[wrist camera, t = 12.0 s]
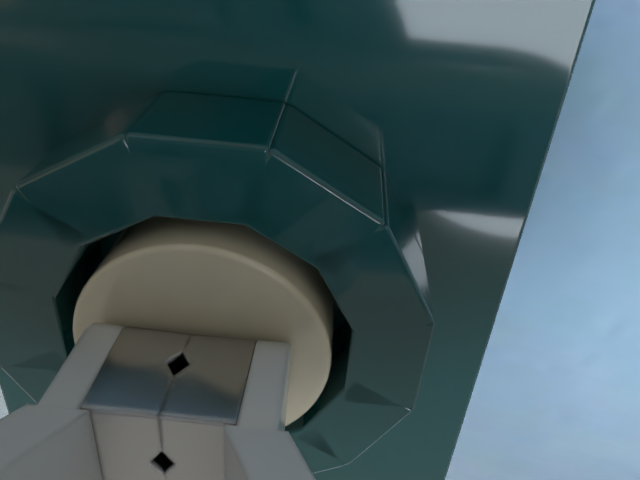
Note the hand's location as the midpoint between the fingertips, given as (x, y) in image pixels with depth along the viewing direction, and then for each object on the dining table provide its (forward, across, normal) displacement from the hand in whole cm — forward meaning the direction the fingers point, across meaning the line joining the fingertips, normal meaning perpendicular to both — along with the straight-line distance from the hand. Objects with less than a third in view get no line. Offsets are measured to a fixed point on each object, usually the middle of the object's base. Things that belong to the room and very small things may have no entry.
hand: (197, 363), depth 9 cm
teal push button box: (+5, 0, 0) cm, 5 cm away
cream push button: (+2, 0, 0) cm, 2 cm away
